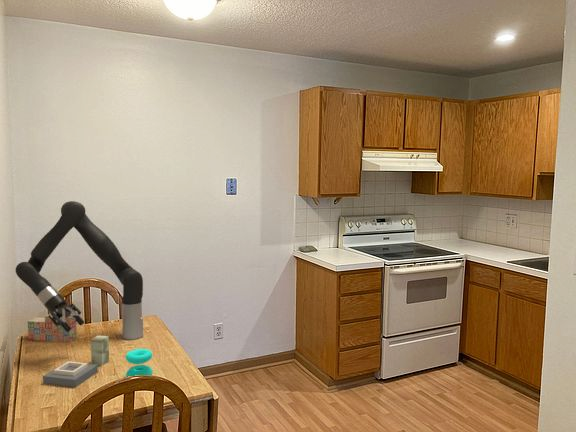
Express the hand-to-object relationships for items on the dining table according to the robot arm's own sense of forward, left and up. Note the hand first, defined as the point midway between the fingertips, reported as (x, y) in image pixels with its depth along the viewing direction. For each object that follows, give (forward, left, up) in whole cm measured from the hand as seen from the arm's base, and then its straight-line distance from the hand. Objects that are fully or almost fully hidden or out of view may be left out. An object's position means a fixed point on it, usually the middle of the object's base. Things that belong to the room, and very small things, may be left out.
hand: (76, 327), depth 202 cm
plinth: (+4, +17, -15) cm, 23 cm away
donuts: (-20, +28, -15) cm, 38 cm away
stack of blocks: (+8, -34, -15) cm, 38 cm away
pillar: (-8, +7, -15) cm, 18 cm away
